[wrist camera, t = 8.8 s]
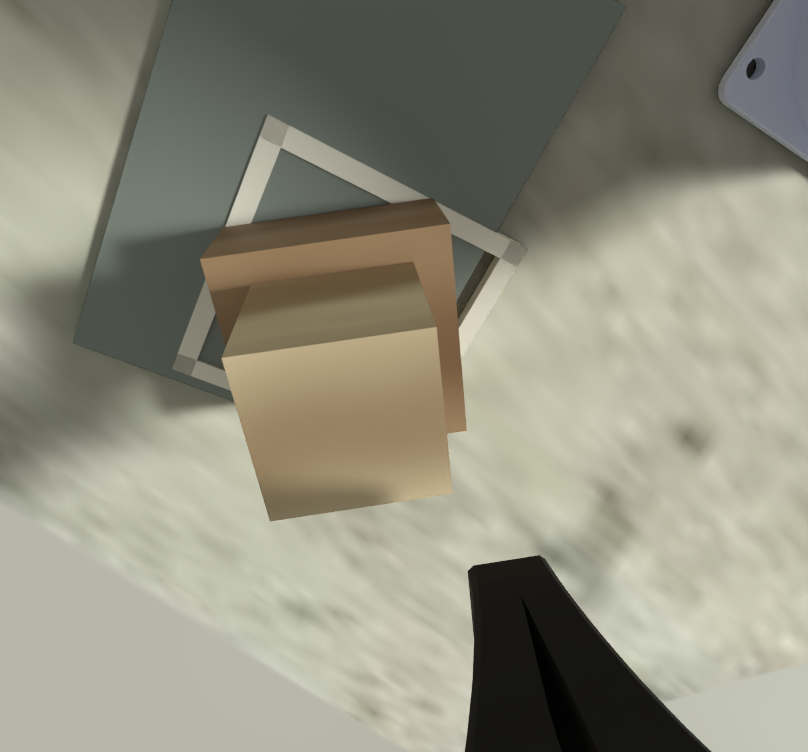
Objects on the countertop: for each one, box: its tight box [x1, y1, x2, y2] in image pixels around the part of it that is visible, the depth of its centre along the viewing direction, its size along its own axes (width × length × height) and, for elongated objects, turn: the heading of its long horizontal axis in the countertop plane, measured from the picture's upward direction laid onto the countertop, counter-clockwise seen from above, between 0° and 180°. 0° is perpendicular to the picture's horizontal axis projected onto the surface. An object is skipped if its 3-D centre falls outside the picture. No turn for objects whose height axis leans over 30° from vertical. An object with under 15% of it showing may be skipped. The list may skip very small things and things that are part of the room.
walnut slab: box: [200, 198, 467, 433], centre depth 17 cm, size 6×6×3 cm
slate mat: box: [73, 0, 626, 401], centre depth 17 cm, size 15×11×1 cm
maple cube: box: [222, 262, 453, 521], centre depth 14 cm, size 4×4×4 cm
